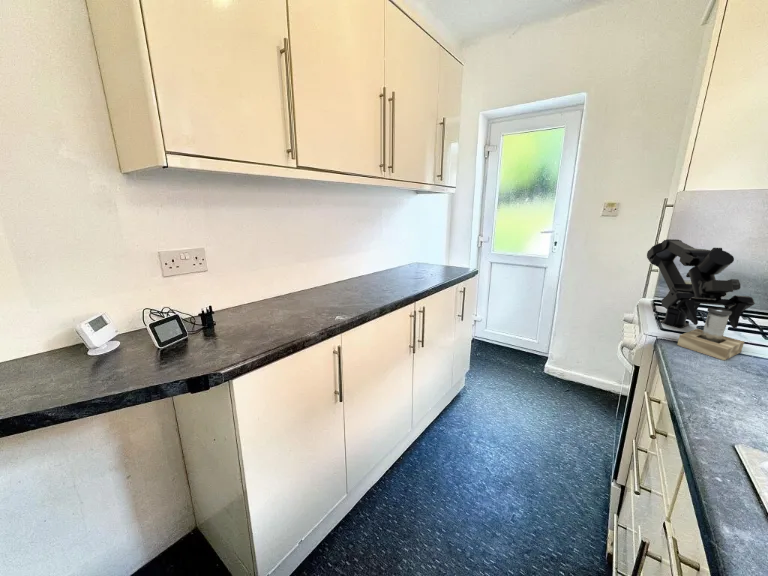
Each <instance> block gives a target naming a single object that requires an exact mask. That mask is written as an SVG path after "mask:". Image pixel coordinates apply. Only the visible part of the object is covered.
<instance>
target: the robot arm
mask: <svg viewBox="0 0 768 576" xmlns="http://www.w3.org/2000/svg"><path fill="white" fill-rule="evenodd" d="M677 257H678V258H679V262H680V263H681V264H682V266H683V267H691V268H690V269H689V270H688V272H687V273H686V275H685V277H686V278H689V280H690V283H691V284H690V283H686V281H685V280H684V278H683V276H682V275H681V272H680V270H679V269H678V267H677V265H676V263H675V262H674V260H675V259H676V258H677ZM646 259H647V260H648V262H650V264H651V265H653V266H655V267H658V270H659V271H660V273H661V275H662V277H663V279H664V281H665V284H666V286H667V287H668V289H669V291H668V293H667V294H666V295H665V297H663V298H662V299H661V306H662V307H663V308H664V309H666V313H665V317H664V319H661V320H659V323H661V324H664V325H669V326H671V327H674V328H678V329H682V328H686V327H688V326H690V323H688V322H686V321H687V319H688V320H689V321H691V324H693V325H694V326H698V323H699V320H698V315H697V313H696V311H697V310H698V309H699V307H700V305H701V304H703V305H714V306H723V308H726V309H729V310H731V311H732V314H731V315H729V318H728V323H730V324H729V325H730V326H731V327H732V329H734V330H735V329H736V328H738V325H739V322H740V317H741V314H742V312H744V311H746V310H748V309H749V308H751V307H752V306H754V305H755V304H756V303H755V301H754V300H755V299H754V298H753V297H752V296H749V295H748V296H747V295H733V296H731V297H730V298H728V299H727V298H724V297H726V296H727V293H733V292H734V291H737V290H740V289H741V282H740V280H739V279H738V278H737V279H735V278H731V279H727V280H720V279H717V278H716V276H715V275H719V274H720V273H722V272H723V271H724V270H725V269H727V268H728V267H729V266H730V265H732V263H734V260H735V257H734V256H733V255H732V254H730V252H727V251H726V250H723V248H722V247H713V248H712V249H706V248H704V249H703V248H696V247H694V246H691V245H689V244H687V243H685V242H683V241H682V240H680V239H674V238H673V239H672V238H671V239H669V238H668V239H663V240H662V242H660V243H657V244H655V245H652V247H650V248H649V250H648V251H647V252H646Z"/></svg>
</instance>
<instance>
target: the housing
mask: <svg viewBox="0 0 768 576" xmlns="http://www.w3.org/2000/svg"><path fill="white" fill-rule="evenodd" d="M702 332H703V329H699V328H695V329H692V330H690V331H687V332H684V333H682V334H679V337H678V341H677V344H676V345H677V346H679V347H682V348H684V349H687V350H691V351H694V352H696V353H697V352H698V353H701V354H703V355H706V356H710V357H712V358H713V357H714V358H716V359H718V360H722V361H726V360H729V359H731V358H732V357H734V356H736V355H739V354H740V353H742V350H743V348H744V345H745V341H743V340H739V339H736V338H733V337H729V336H725V335H723V338H722V341H721V343H716V342H712V341H709V340H705V339H702V338H701V336H702Z"/></svg>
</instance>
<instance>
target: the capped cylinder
mask: <svg viewBox="0 0 768 576" xmlns="http://www.w3.org/2000/svg"><path fill="white" fill-rule="evenodd" d="M731 314H732V311H731V310H729V309H726V308H725V307H719V306H708V307H707V314H706V315H707V316H706V319H705V323H704V324H703V325H704V326H703V329H702V330H703V332H702V336H701V338H702V339H705V340H709V341H712V342H716V343H721V341H722V338H723V336H725V335H724V334H725V331H726V327H727V325H728V323H729V320H728V318H729V315H731Z"/></svg>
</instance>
